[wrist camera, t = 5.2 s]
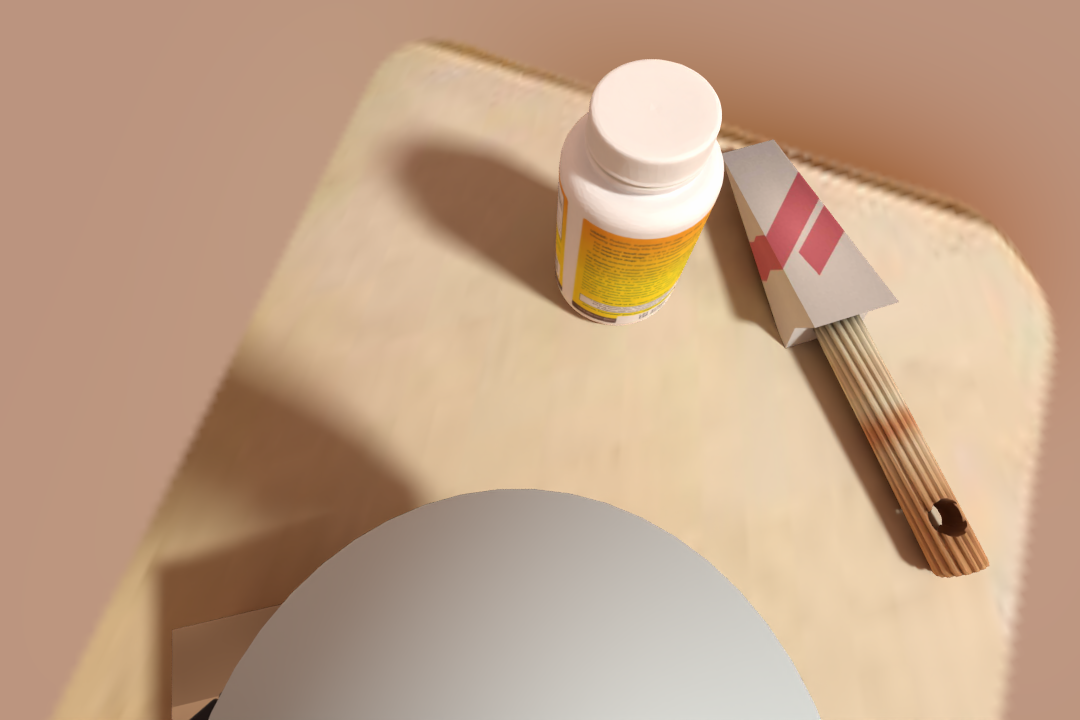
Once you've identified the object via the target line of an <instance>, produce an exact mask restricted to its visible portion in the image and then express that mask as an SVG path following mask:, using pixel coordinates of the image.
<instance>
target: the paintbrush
mask: <svg viewBox="0 0 1080 720" xmlns="http://www.w3.org/2000/svg"><path fill="white" fill-rule="evenodd" d="M722 156H723V161H724V165H725V169H726V172H727V175H728V178H729V181H730V184H731V187H732V190H733V193H734V196H735V199H736V203H737V206H738V209H739V212H740V215H741V218H742V221H743V224H744V227H745V230H746V233H747V237H748V240H749V243H750V246H751V249H752V252H753V255H754V258H755V261H756V264H757V267H758V271H759V274H760V277H761V280H762V283H763V286H764V289H765V292H766V295H767V298H768V301H769V305H770V308H771V311H772V314H773V317H774V320H775V323H776V326H777V329H778V332H779V335H780V337H781V340H782V342H783V344H784V346H785V348H788V347H791V346H795V345H798V344H801V343H804V342H807V341H811V340H814V339H818V341H819V343H820V345H821V347H822V349H823V351H824V353H825V355H826V357H827V359H828V361H829V363H830V365H831V367H832V369H833V371H834V373H835V375H836V377H837V379H838V381H839V383H840V385H841V387H842V389H843V391H844V393H845V395H846V397H847V399H848V401H849V403H850V405H851V407H852V409H853V410H854V412H855V414H856V416H857V419H858V421H859V423H860V425H861V427H862V429H863V431H864V433H865V435H866V437H867V439H868V441H869V443H870V445H871V447H872V449H873V451H874V453H875V455H876V457H877V459H878V461H879V463H880V465H881V467H882V469H883V472H884V474H885V476H886V478H887V480H888V482H889V484H890V486H891V488H892V490H893V492H894V494H895V496H896V498H897V500H898V502H899V504H900V506H901V508H902V510H903V512H904V514H905V516H906V518H907V520H908V523H909V525H910V527H911V529H912V531H913V533H914V535H915V537H916V539H917V541H918V543H919V545H920V547H921V549H922V551H923V553H924V555H925V557H926V559H927V561H928V563H929V565H930V567H931V569H932V571H933V573H934V574H935V575H936V576H940V577H949V578H950V577H953V576H956V577H957V576H962V575H969V574H971V573H973V572H979V571H980V570H983V569H986V567H988V566H989V562H988V559H987V557H986V555H985V553H984V551H983V549H982V547H981V545H980V543H979V541H978V540H977V538H976V536H975V534H974V532H973V530H972V528H971V526H970V524H969V523H968V521H967V519H966V517H965V515H964V513H963V511H962V509H961V507H960V505H959V504H958V502H957V500H956V498H955V496H954V494H953V492H952V490H951V488H950V487H949V485H948V483H947V481H946V479H945V477H944V475H943V473H942V471H941V469H940V468H939V466H938V464H937V462H936V460H935V458H934V456H933V454H932V452H931V450H930V449H929V447H928V445H927V443H926V441H925V439H924V437H923V435H922V433H921V432H920V430H919V428H918V426H917V424H916V422H915V420H914V418H913V416H912V414H911V413H910V411H909V409H908V407H907V405H906V403H905V401H904V399H903V397H902V396H901V394H900V392H899V390H898V388H897V386H896V384H895V383H894V381H893V379H892V377H891V375H890V373H889V371H888V370H887V368H886V366H885V364H884V362H883V360H882V358H881V356H880V354H879V352H878V350H877V348H876V346H875V344H874V342H873V340H872V338H871V336H870V334H869V332H868V330H867V328H866V326H865V324H864V323H863V320H864V318H865V316H866V314H867V312H868V311H871V310H874V309H878V308H881V307H884V306H887V305H891V304H894V303H897V302H899V301H898V300H897V299H896V298H895V296H894V295H893V294H892V292H891V291H890V290H889V288H888V287H887V286H886V285H885V283H884V282H883V281H882V279H881V278H880V277H879V276H878V274H877V273H876V272H875V270H874V269H873V268H872V266H871V265H870V264H869V263H868V261H867V260H866V259H865V257H864V256H863V255H862V253H861V252H860V251H859V250H858V248H857V247H856V246H855V244H854V243H853V242H852V241H851V239H850V238H849V237H848V235H847V234H846V233H845V231H844V230H843V229H842V228H841V226H840V225H839V224H838V222H837V221H836V220H835V219H834V217H833V216H832V215H831V213H830V212H829V211H828V209H827V208H826V207H825V206H824V204H823V203H822V202H821V200H820V199H819V198H818V196H817V195H816V194H815V193H814V191H813V190H812V189H811V187H810V186H809V185H808V184H807V182H806V181H805V180H804V178H803V177H802V176H801V174H800V173H799V172H798V171H797V169H796V168H795V167H794V165H793V164H792V163H791V162H790V160H789V159H788V158H787V156H786V155H785V154H784V152H783V151H782V150H781V149H780V147H779V146H778V145H777V143H776V142H775V141H774V140H770V141H766V142H763V143H759V144H755V145H752V146H748V147H744V148H741V149H737V150H733V151H729V152H726V153H722ZM933 505H934V506H935V507H936V508H937V509H938V511H939V513H940V515H941V517H942V525H939V527H938V531H936V530H935V529H934V528H933V526H932V525H931V523H930V522H929V518H928V511H929V512H930V511H931V510H932V506H933Z"/></svg>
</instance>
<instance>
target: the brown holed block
mask: <svg viewBox="0 0 1080 720" xmlns="http://www.w3.org/2000/svg"><path fill="white" fill-rule="evenodd" d="M281 605H282V604H280V605H276V606H271V607H267V608H263V609H259V610H254V611H250V612H246V613H242V614H237V615H233V616H229V617H225V618H220V619H216V620H212V621H208V622H203V623H199V624H195V625H191V626H186V627H182V628H178V629H173V630H172V720H190V719H191V718H192V717H193V716H194V715H195V714H197V713H198V712H199V711H200V710H201V709H202V708H203V707H205V706H206V705H207V704H208V703H209V702H210V701H212V700H213V699H215V698H217V699H219V694H220V693H221V692H222V691H223V689H224V688H225V686H226V684H227V682H228V680H229V678H230V676H231V674H232V672H233V671H234V669H235V667H236V666H237V664H238V663H239V661H240V660H241V658H242V657H243V655H244V654H245V652H246V651H247V649H248V648H249V646H250V645H251V643H252V642H253V640H254V639H255V637H256V636H257V634H258V633H259V632H260V630H261V629H262V627H263V626H264V625H265V624H266V623H267V621H268V620H269V619H270V618H271V617H272V616H273V614H274V613H275V612H276V611H277V610H278V608H279V607H280V606H281Z"/></svg>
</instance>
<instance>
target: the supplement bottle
mask: <svg viewBox="0 0 1080 720" xmlns="http://www.w3.org/2000/svg"><path fill="white" fill-rule="evenodd" d="M721 120H722V111H721V104H720V101H719V99H718V96H717V94H716V93H715V91H714V89H713V88H712V86H711V85H710V84H709V83H708V82H707V81H706V80H705V79H704V78H703V77H702V76H701V75H700V74H698V73H696V72H695V71H693V70H692V69H690V68H687V67H686V66H683V65H681V64H678V63H675V62H671V61H665V60H658V59H648V60H647V59H646V60H638V61H634V62H630V63H626V64H624V65H622V66H619V67H617V68H616V69H614V70H612V71H611V72H609V73H608V74H607V75H605V76H604V78H603V79H602V80H601V81H600V82H599V83H598V85H597V86H596V88H595V90H594V92H593V94H592V97H591V100H590V106H589V112H588V113H587V114H585V115H584V116H583V117H582V118H581V119H580V120H579V121H578V122H577V123H576V124H575V125H574V126H573V128H572V129H571V131H570V132H569V134H568V136H567V138H566V139H565V142H564V145H563V148H562V151H561V157H560V165H559V182H558V184H559V185H558V208H557V230H556V254H555V273H556V280H557V283H558V286H559V289H560V291H561V293H562V295H563V297H564V298H565V300H566V301H567V302H568V303H569V305H570V306H571V307H572V308H573V309H575V310H576V311H577V312H578V313H580V314H581V315H583V316H584V317H586V318H588V319H590V320H593V321H595V322H598V323H602V324H606V325H629V324H633V323H636V322H640V321H642V320H644V319H646V318H648V317H650V316H652V315H653V314H654V313H656V312H657V311H658V310H659V309H660V308H661V307H662V306H663V305H664V304H665V303H666V301H667V300H668V298H669V297H670V295H671V293H672V291H673V290H674V288H675V285H676V283H677V281H678V279H679V277H680V275H681V273H682V271H683V268H684V266H685V264H686V262H687V260H688V258H689V256H690V254H691V252H692V250H693V248H694V246H695V244H696V242H697V240H698V238H699V235H700V233H701V231H702V229H703V227H704V225H705V223H706V221H707V219H708V217H709V214H710V212H711V210H712V208H713V206H714V204H715V202H716V200H717V197H718V195H719V192H720V190H721V187H722V183H723V177H724V161H723V156H722V152H721V149H720V146H719V144H718V142H717V140H716V137H717V135H718V132H719V130H720V126H721Z"/></svg>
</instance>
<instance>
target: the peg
mask: <svg viewBox="0 0 1080 720" xmlns="http://www.w3.org/2000/svg"><path fill="white" fill-rule="evenodd" d="M208 720H821V718H820V716H819V713H818V711H817V708H816V706H815V704H814V702H813V700H812V698H811V696H810V694H809V692H808V690H807V688H806V686H805V684H804V682H803V681H802V679H801V677H800V675H799V673H798V671H797V669H796V667H795V665H794V663H793V662H792V660H791V659H790V657H789V656H788V654H787V653H786V651H785V650H784V648H783V647H782V645H781V644H780V642H779V641H778V639H777V638H776V636H775V635H774V633H773V632H772V630H771V629H770V627H769V626H768V624H767V623H766V622H765V620H764V619H763V618H762V617H761V616H760V615H759V613H758V612H757V611H756V610H755V609H754V607H753V606H752V605H751V604H750V603H749V601H748V600H747V599H746V598H745V597H744V595H743V594H742V593H741V592H740V591H739V590H738V589H737V588H736V587H735V586H734V585H733V584H732V583H731V582H730V581H729V580H728V579H727V578H726V577H725V576H724V575H723V574H721V573H720V572H719V571H718V570H717V569H716V568H715V567H714V566H713V565H712V564H711V563H710V562H709V561H708V560H706V559H705V558H704V557H702V556H701V555H700V554H698V553H697V552H695V551H694V550H693V549H691V548H690V547H689V546H687V545H686V544H685V543H683V542H682V541H681V540H679V539H678V538H677V537H675V536H673V535H672V534H670V533H668V532H666V531H665V530H663V529H661V528H659V527H657V526H656V525H654V524H652V523H650V522H649V521H647V520H645V519H643V518H642V517H639V516H637V515H634V514H632V513H629V512H627V511H624V510H622V509H619V508H617V507H615V506H612V505H610V504H607V503H604V502H600V501H596V500H593V499H589V498H585V497H581V496H577V495H573V494H569V493H561V492H553V491H545V490H537V489H497V490H490V491H483V492H476V493H469V494H462V495H458V496H454V497H451V498H447V499H444V500H440V501H436V502H433V503H429V504H426V505H423V506H421V507H418V508H416V509H414V510H411V511H409V512H407V513H404V514H402V515H399V516H397V517H395V518H392V519H390V520H388V521H386V522H385V523H383V524H381V525H379V526H378V527H376V528H374V529H372V530H371V531H369V532H367V533H366V534H364V535H362V536H360V537H359V538H357V539H355V540H354V541H352V542H351V543H350V544H348V545H347V546H346V547H344V548H343V549H342V550H340V551H339V552H338V553H336V554H335V555H334V556H332V557H331V558H330V559H328V560H327V561H326V562H324V563H323V564H322V565H321V566H320V567H319V568H318V569H317V570H315V571H314V572H313V573H312V574H311V575H310V576H309V577H308V578H307V579H306V580H305V581H304V582H303V583H302V584H301V585H300V586H299V587H298V588H296V589H295V590H294V591H293V592H292V593H291V594H290V595H289V597H288V598H287V599H286V600H285V601H284V602H283V604H282V605H281V606H280V607H279V608H278V610H277V611H276V612H275V613H274V614H273V616H272V617H271V618H270V619H269V620H268V621H267V623H266V624H265V625H264V626H263V627H262V629H261V630H260V632H259V633H258V634H257V636H256V637H255V639H254V640H253V642H252V643H251V645H250V646H249V648H248V649H247V651H246V652H245V654H244V655H243V657H242V658H241V660H240V661H239V663H238V664H237V666H236V667H235V669H234V671H233V672H232V674H231V676H230V678H229V680H228V682H227V684H226V686H225V688H224V689H223V691H222V693H221V695H220V697H219V699H218V701H217V703H216V704H215V706H214V708H213V710H212V712H211V714H210V717H209V719H208Z"/></svg>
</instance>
